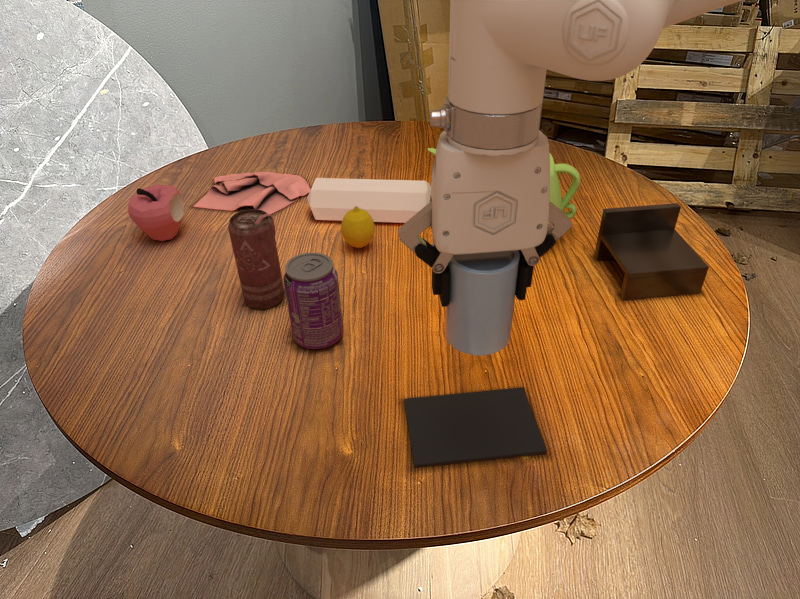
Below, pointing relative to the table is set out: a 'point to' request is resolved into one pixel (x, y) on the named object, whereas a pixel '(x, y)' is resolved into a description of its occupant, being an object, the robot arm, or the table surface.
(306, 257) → the beverage can
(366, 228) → the fruit
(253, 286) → the can
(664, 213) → the shelf
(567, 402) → the table surface
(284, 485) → the table surface
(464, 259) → the blue cup
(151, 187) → the apple
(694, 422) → the table surface
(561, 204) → the teapot
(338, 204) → the crystal
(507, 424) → the mat
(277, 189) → the cloth
